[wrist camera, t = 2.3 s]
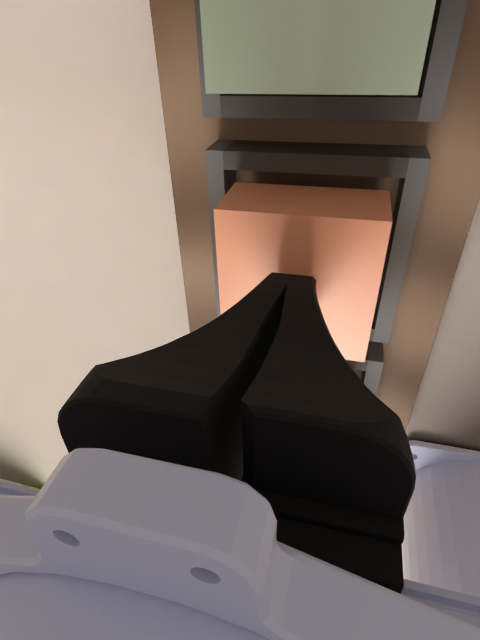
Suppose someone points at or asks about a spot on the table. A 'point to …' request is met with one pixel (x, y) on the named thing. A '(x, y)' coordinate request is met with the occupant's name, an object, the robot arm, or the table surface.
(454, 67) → the button board
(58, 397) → the table surface
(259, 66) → the sage button
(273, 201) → the terracotta button
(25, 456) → the table surface
